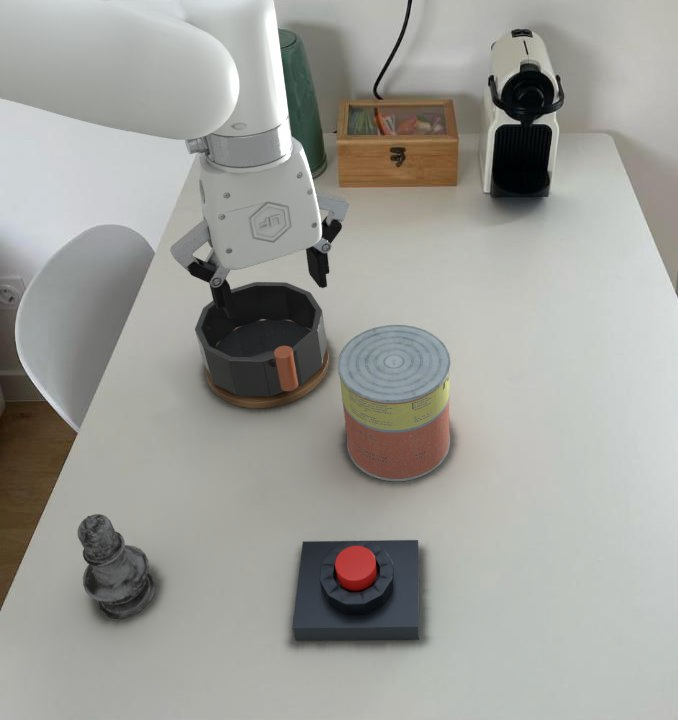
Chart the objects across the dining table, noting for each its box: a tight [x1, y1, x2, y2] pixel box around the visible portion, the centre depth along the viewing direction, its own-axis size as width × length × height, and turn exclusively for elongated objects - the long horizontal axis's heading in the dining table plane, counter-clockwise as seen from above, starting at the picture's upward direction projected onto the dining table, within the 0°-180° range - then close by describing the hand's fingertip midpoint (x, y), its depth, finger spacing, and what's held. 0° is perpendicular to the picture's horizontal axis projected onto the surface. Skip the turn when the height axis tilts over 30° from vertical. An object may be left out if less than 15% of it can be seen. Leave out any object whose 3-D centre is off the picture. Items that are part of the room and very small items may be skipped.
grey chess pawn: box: [77, 513, 156, 620], centre depth 72 cm, size 6×6×12 cm
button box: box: [292, 539, 420, 642], centre depth 74 cm, size 11×9×4 cm
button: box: [335, 546, 377, 591], centre depth 72 cm, size 4×4×2 cm
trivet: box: [204, 319, 330, 409], centre depth 99 cm, size 15×15×1 cm
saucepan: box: [194, 281, 328, 397], centre depth 94 cm, size 17×14×8 cm
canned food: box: [337, 324, 451, 482], centre depth 85 cm, size 11×11×12 cm
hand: (273, 295), depth 81 cm, fingers open, 9 cm apart
